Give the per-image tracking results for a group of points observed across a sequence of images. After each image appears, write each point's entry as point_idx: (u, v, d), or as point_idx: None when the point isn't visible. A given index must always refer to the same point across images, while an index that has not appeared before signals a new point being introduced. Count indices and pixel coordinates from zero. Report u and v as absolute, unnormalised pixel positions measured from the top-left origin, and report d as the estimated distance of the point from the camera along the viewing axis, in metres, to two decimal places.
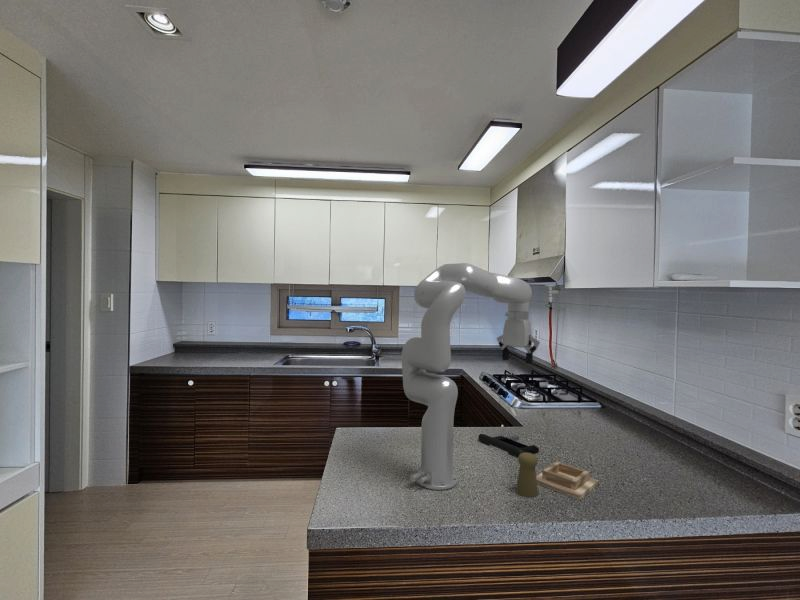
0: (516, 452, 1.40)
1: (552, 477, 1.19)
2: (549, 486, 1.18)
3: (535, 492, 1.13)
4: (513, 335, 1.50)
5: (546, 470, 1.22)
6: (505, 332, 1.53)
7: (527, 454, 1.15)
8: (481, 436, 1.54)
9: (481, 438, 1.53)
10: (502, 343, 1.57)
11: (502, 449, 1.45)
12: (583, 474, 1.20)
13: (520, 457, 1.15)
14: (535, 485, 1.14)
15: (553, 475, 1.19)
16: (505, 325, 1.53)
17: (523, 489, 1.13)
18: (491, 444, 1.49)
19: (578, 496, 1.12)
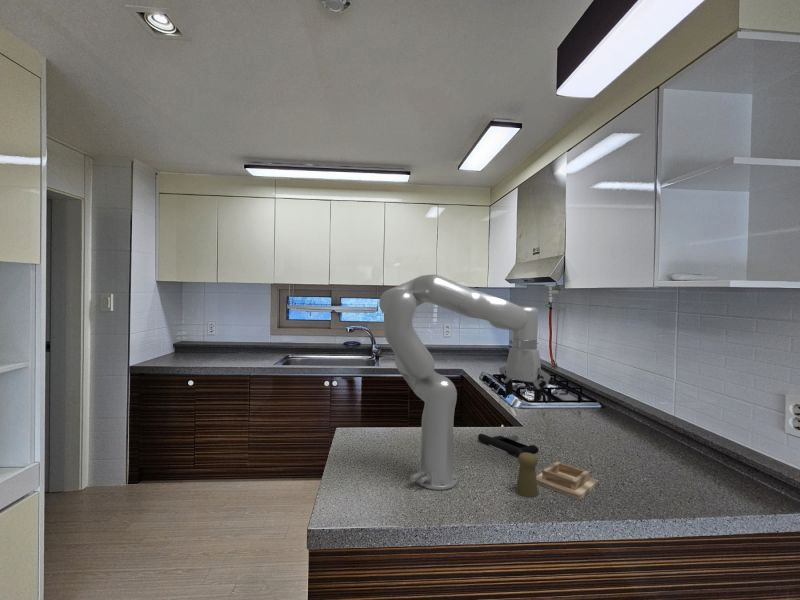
0: (516, 452, 1.40)
1: (552, 477, 1.19)
2: (549, 486, 1.18)
3: (535, 492, 1.13)
4: (519, 367, 1.29)
5: (546, 470, 1.22)
6: (509, 363, 1.31)
7: (527, 454, 1.15)
8: (480, 436, 1.54)
9: (480, 438, 1.53)
10: (505, 375, 1.35)
11: (502, 449, 1.45)
12: (583, 474, 1.20)
13: (520, 457, 1.15)
14: (535, 485, 1.14)
15: (553, 475, 1.19)
16: (509, 355, 1.31)
17: (523, 489, 1.13)
18: (491, 444, 1.50)
19: (578, 496, 1.12)
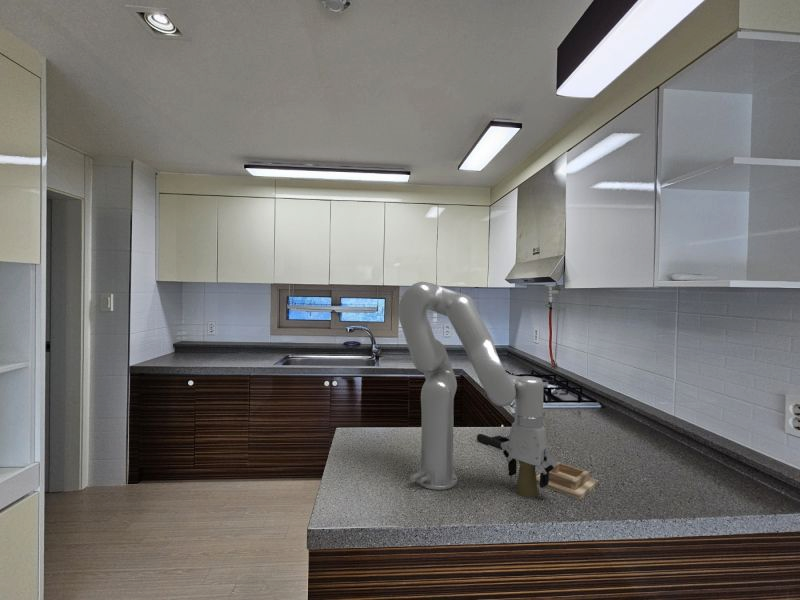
0: None
1: (552, 477, 1.19)
2: (549, 486, 1.18)
3: (535, 492, 1.13)
4: (522, 447, 1.14)
5: None
6: (512, 441, 1.16)
7: None
8: (480, 436, 1.54)
9: (480, 438, 1.54)
10: (508, 452, 1.20)
11: (501, 449, 1.46)
12: (583, 474, 1.20)
13: None
14: (535, 485, 1.14)
15: (553, 475, 1.19)
16: (512, 431, 1.16)
17: (523, 489, 1.13)
18: (490, 444, 1.50)
19: (578, 496, 1.12)
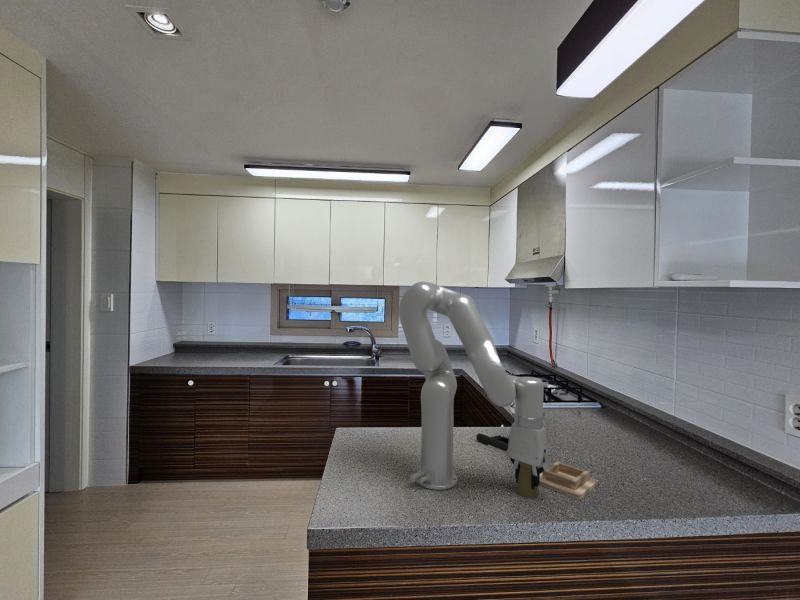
0: None
1: (552, 477, 1.19)
2: (549, 486, 1.18)
3: (535, 492, 1.13)
4: (522, 447, 1.14)
5: None
6: (511, 441, 1.16)
7: None
8: (479, 436, 1.54)
9: (479, 438, 1.54)
10: (515, 459, 1.18)
11: (500, 449, 1.46)
12: (583, 474, 1.20)
13: None
14: None
15: (553, 475, 1.19)
16: (511, 432, 1.16)
17: (523, 489, 1.13)
18: (489, 444, 1.50)
19: (578, 496, 1.12)
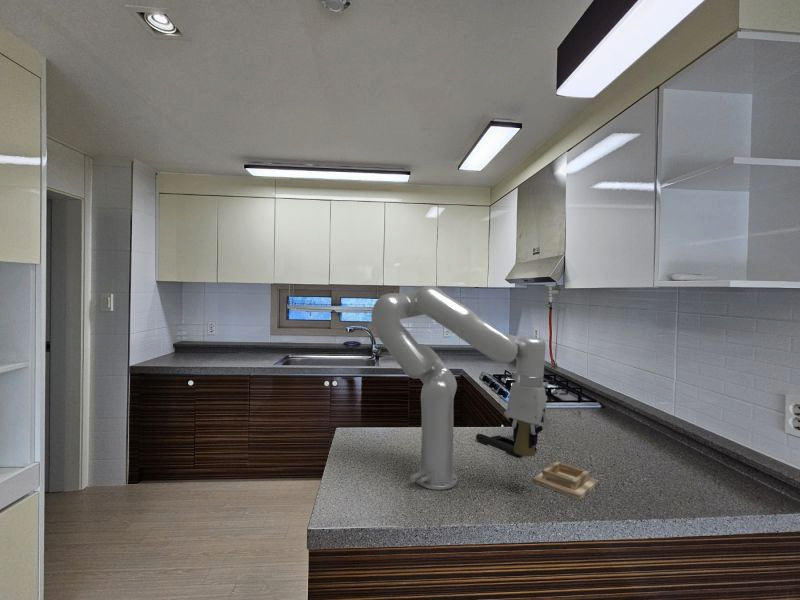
0: (514, 452, 1.41)
1: (552, 477, 1.19)
2: (549, 486, 1.18)
3: (532, 451, 1.13)
4: (521, 406, 1.13)
5: (546, 470, 1.22)
6: (511, 400, 1.16)
7: None
8: (479, 436, 1.54)
9: (479, 438, 1.54)
10: (513, 419, 1.18)
11: (500, 449, 1.46)
12: (583, 474, 1.20)
13: None
14: None
15: (553, 475, 1.19)
16: (511, 391, 1.16)
17: (521, 448, 1.13)
18: (489, 444, 1.50)
19: (578, 496, 1.12)
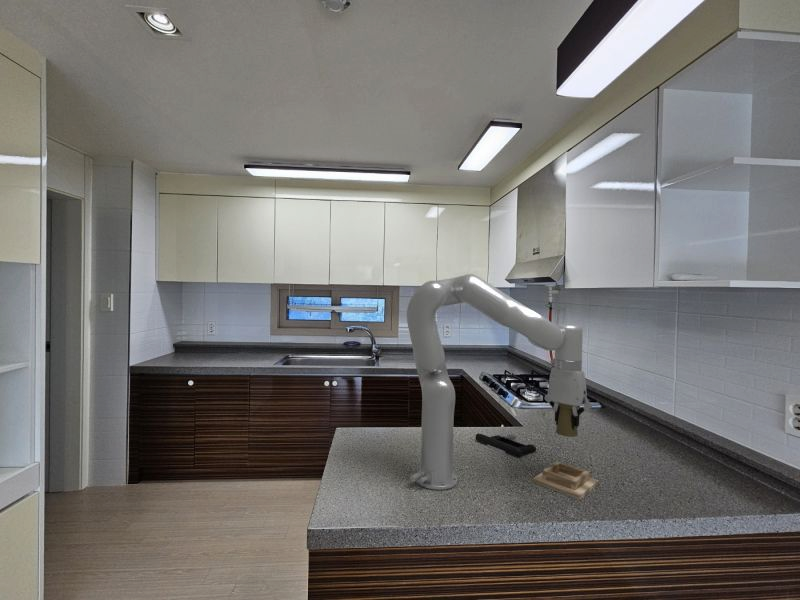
0: (514, 451, 1.41)
1: (552, 477, 1.19)
2: (549, 486, 1.18)
3: (575, 432, 1.19)
4: (562, 389, 1.19)
5: (546, 470, 1.22)
6: (551, 385, 1.22)
7: None
8: (478, 436, 1.54)
9: (478, 438, 1.54)
10: (554, 402, 1.24)
11: (500, 449, 1.46)
12: (583, 474, 1.20)
13: None
14: None
15: (553, 475, 1.19)
16: (551, 376, 1.22)
17: (564, 429, 1.19)
18: (489, 444, 1.50)
19: (578, 496, 1.12)
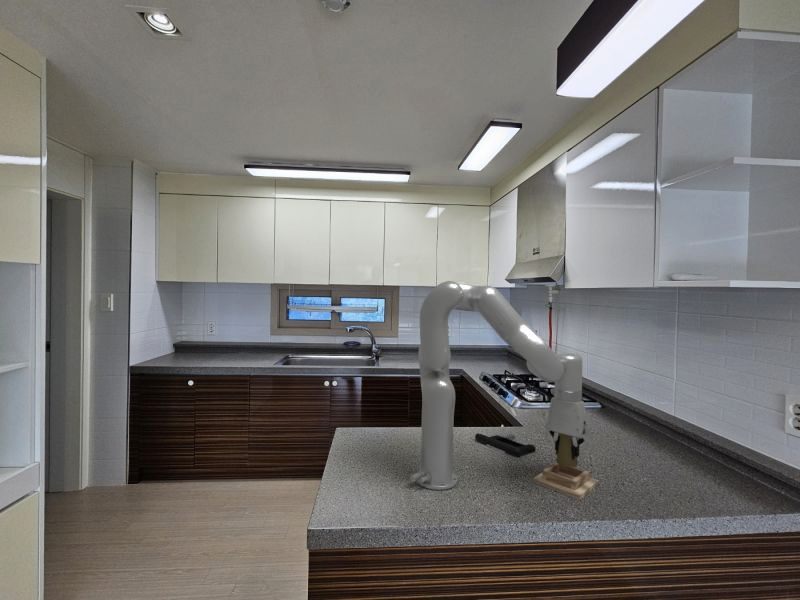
0: (513, 451, 1.41)
1: (552, 477, 1.19)
2: (549, 486, 1.18)
3: (575, 462, 1.19)
4: (562, 420, 1.20)
5: (546, 470, 1.22)
6: (552, 415, 1.22)
7: None
8: (478, 436, 1.54)
9: (478, 438, 1.54)
10: (554, 432, 1.24)
11: (499, 448, 1.46)
12: (583, 474, 1.20)
13: None
14: None
15: (553, 475, 1.19)
16: (551, 406, 1.22)
17: (564, 459, 1.19)
18: (488, 444, 1.50)
19: (578, 496, 1.12)
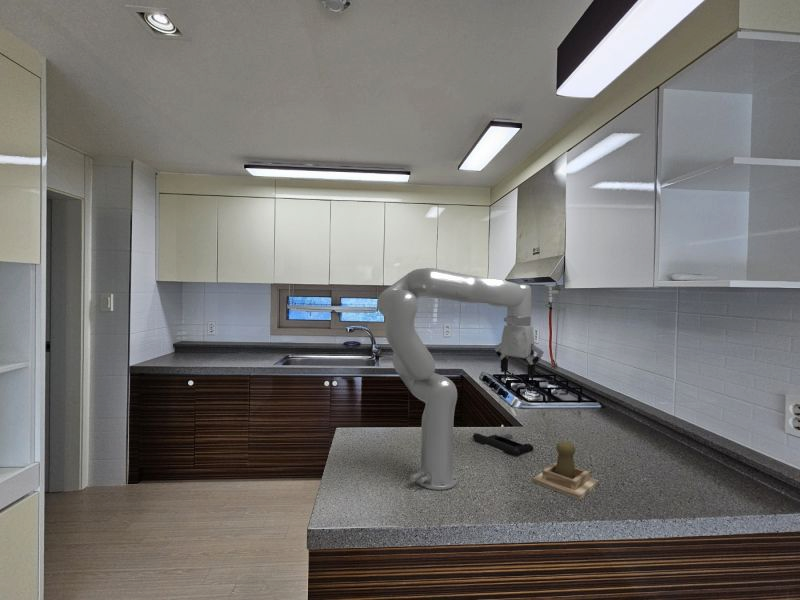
0: (512, 451, 1.41)
1: (552, 477, 1.19)
2: (549, 486, 1.18)
3: None
4: (513, 343, 1.31)
5: (546, 470, 1.22)
6: (504, 340, 1.34)
7: (565, 443, 1.21)
8: (476, 435, 1.54)
9: (476, 437, 1.54)
10: (500, 352, 1.38)
11: (497, 448, 1.46)
12: (583, 474, 1.20)
13: (559, 446, 1.21)
14: (573, 472, 1.20)
15: (553, 475, 1.19)
16: (504, 332, 1.34)
17: None
18: (486, 443, 1.50)
19: (578, 496, 1.12)
